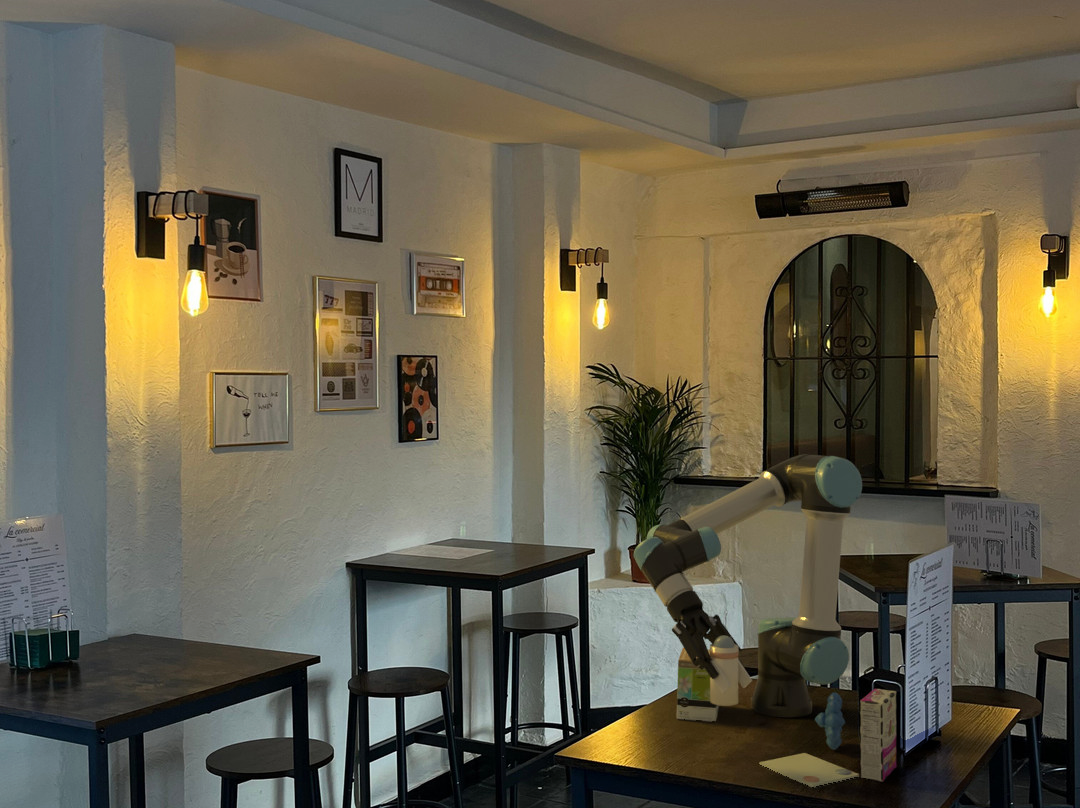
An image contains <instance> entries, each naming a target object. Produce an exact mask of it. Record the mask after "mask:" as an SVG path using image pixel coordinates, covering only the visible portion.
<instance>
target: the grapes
mask: <svg viewBox="0 0 1080 808" xmlns="http://www.w3.org/2000/svg"><path fill="white" fill-rule="evenodd" d="M826 700H827V704H826V709H824V710H825V712H820V713H818V714H817V716H816V717H815V718H814V721H815V722H816V724H817V725H818V727H820V728H824V731H825V737H827V738H826V741H825V742H826V744H827V745H828V747H829V748H830V749H831V750H834V751H835V750H837V749H838V748H840V745H841V744H842V741H843V739H842V738H841V737H842V731H843V726H844V725H845V724H846V720H845V719H844V717H843V715H844V714H843V713H842V711H841V709H842V705H843V704H844V702H843V699H842V697H841V696H840V694H838V693H837V692H836V691H835V692H832V693H830V694H829V696H828V697H827V699H826Z"/></svg>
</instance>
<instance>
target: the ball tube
mask: <svg viewBox="0 0 1080 808" xmlns="http://www.w3.org/2000/svg"><path fill="white" fill-rule="evenodd" d="M738 646H739V645H736V644H734V642H733V640H732V639H731V638H730V637H728V636H725V635H723V636H719V637H718V638H717V639H716V640H715V642H714V644H712V643H711V644H710V645H709V649H710V657H711V662H712V661H713V660H715V661H716V662H717V664H718V665H719V667H720V668H721V670H722V671H723V673H724V674H725V676H726V677H727V679H728V681H729V682H730V684H731V685H732V686H731V687H730V688H729V689H728V690H727V692H726V693H723V694H722V692H721V690H720V689H719V687H718V686H717V684H716V683H715V681H714V680H713V679H712V678H711V677H710V702H711V703H713V704H716V705H719V706H722V707H724V706H725V707H726V706H727V707H728V706H729V707H730V706H735V705H738V704H739V696H740V695H739V684H740V683H739V681H738V658H739V657H740V652H739V650H738Z"/></svg>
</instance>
